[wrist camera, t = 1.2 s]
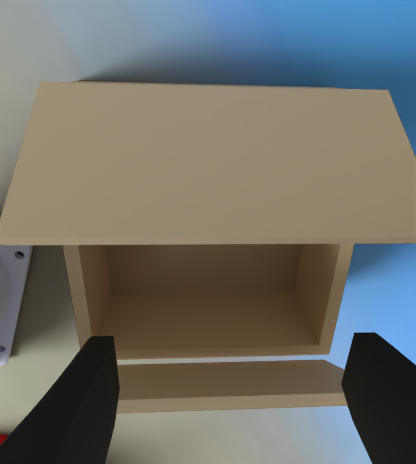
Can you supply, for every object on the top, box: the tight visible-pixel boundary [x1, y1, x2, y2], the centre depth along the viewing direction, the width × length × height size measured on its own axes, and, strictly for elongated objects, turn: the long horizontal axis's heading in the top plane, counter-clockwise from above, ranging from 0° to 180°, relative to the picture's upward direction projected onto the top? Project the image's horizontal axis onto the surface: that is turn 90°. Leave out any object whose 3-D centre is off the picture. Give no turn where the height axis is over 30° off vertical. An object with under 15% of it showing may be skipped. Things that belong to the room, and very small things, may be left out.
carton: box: [36, 81, 354, 360], centre depth 17 cm, size 12×12×5 cm
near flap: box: [0, 82, 416, 245], centre depth 10 cm, size 6×11×1 cm
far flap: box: [116, 360, 348, 414], centre depth 14 cm, size 6×11×1 cm
